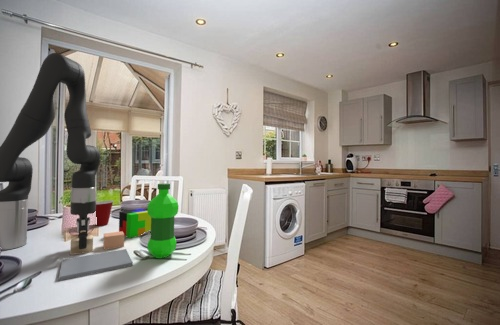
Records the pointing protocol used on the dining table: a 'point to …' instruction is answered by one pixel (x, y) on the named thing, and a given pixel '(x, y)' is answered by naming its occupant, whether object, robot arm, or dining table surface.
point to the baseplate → (94, 264)
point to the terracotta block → (113, 240)
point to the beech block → (75, 245)
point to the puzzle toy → (134, 222)
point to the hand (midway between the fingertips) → (82, 245)
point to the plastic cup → (103, 212)
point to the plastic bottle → (162, 223)
